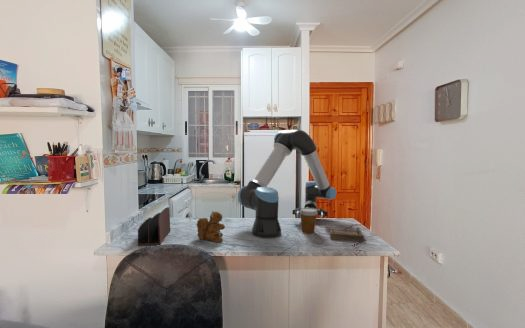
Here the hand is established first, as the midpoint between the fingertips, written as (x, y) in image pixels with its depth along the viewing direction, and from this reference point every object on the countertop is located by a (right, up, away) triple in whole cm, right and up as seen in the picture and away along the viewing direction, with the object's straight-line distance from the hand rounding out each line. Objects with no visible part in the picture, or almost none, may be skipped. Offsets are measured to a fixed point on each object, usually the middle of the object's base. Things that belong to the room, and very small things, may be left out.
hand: (309, 216), depth 148 cm
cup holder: (+16, -7, -11) cm, 21 cm away
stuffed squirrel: (-52, -7, -18) cm, 55 cm away
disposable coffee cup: (-2, -7, -6) cm, 10 cm away
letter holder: (-78, -7, -18) cm, 81 cm away
